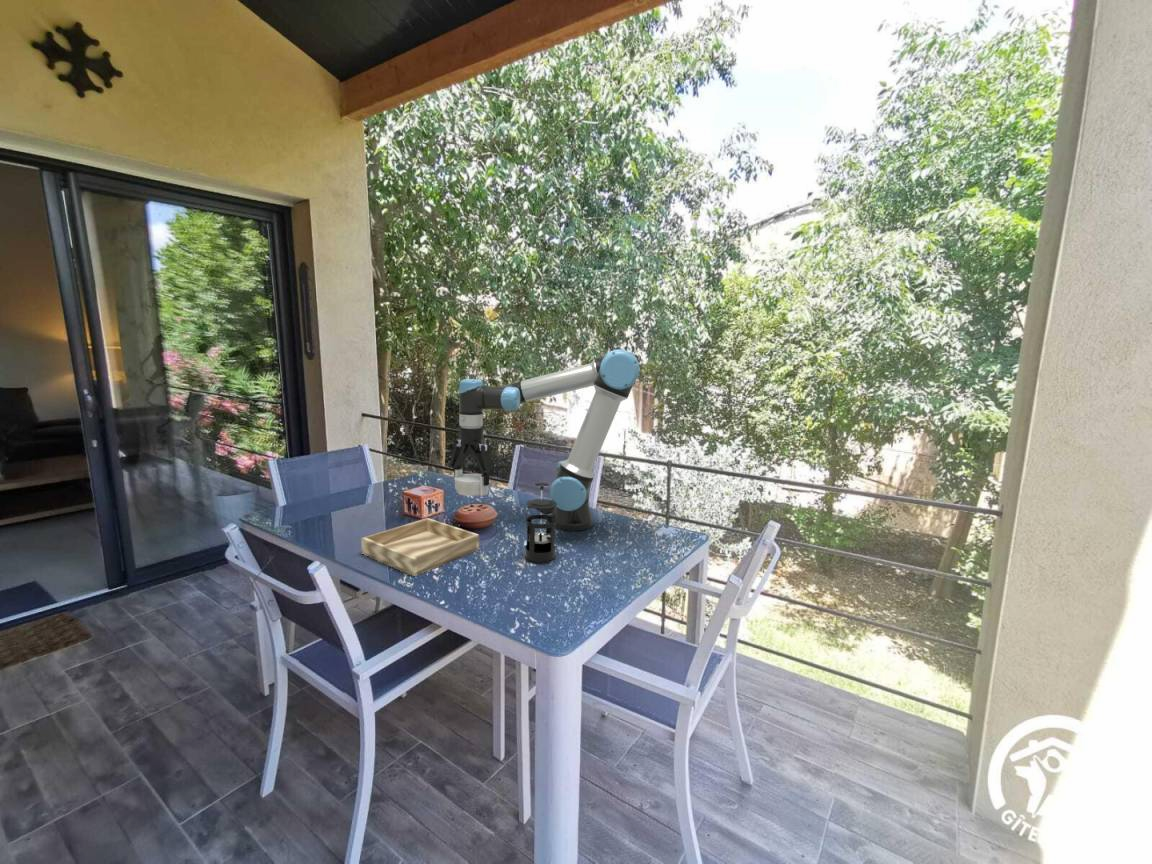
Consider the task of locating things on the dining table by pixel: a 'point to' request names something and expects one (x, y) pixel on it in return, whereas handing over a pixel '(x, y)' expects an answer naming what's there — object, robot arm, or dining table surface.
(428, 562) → the pine tray
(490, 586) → the dining table surface
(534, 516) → the french press
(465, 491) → the ramekin
